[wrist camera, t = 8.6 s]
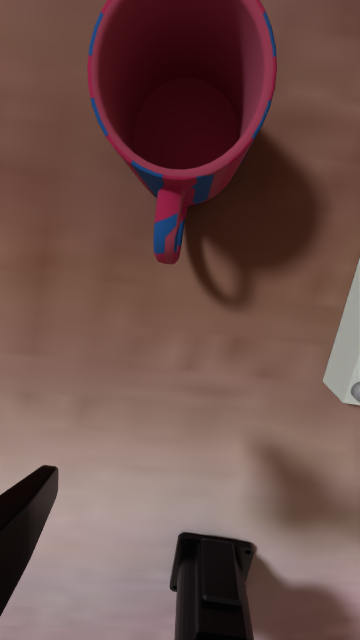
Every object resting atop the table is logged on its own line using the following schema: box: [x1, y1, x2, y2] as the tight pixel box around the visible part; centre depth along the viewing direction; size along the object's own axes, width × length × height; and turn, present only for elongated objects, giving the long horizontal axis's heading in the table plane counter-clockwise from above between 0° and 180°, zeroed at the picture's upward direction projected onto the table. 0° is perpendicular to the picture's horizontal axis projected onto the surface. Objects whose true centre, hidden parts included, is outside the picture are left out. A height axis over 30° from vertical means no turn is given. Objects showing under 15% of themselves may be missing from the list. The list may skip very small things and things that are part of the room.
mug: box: [87, 0, 277, 264], centre depth 13 cm, size 7×10×7 cm
